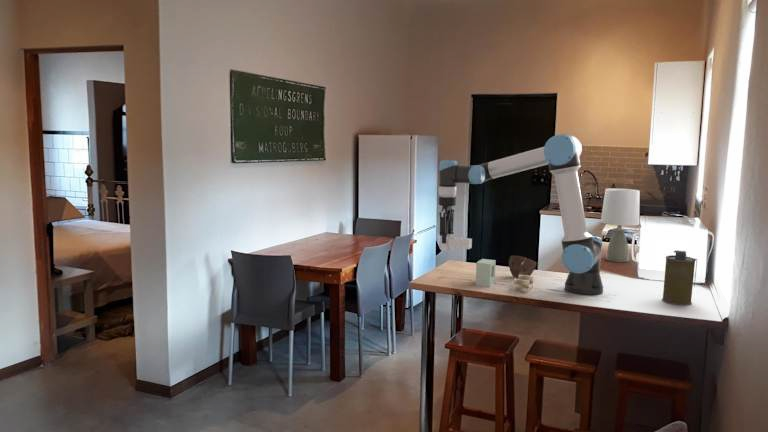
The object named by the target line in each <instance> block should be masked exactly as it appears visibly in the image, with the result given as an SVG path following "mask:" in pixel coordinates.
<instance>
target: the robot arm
mask: <svg viewBox="0 0 768 432" xmlns="http://www.w3.org/2000/svg"><path fill="white" fill-rule="evenodd" d="M582 151H583V147H582V143H581V141H580V140H579V139H578V138H577V137H576V136H574V135H571V134H564V133H559V134H557V135H554V136H551V137H550V138H549V139H548V140H547V141H546V142H545V144H544V146H542V147H538V148H535V149H531V150H527V151H524V152H519V153H516V154H514V155H513V154H512V155H510V156H506V157H503V158H499V159H495V160H491V161H489V162H488V161H487V162H483V163H481V164H478V165H477V164H475V165H459V164H458V161H457V160H441V161H440V162H439V169H438V175H439V176H438V177H439V178H438V188H437V191H438V195H439V197H438V205H439V206H441V207H442V208H441V211H440V212H439V236H440V237H441V241H440V242H441V245H440V246H441V248H440V250H441V251H444V252H447V251H448V250H451V249H452V248H448V237H452V235H453V234H454V217H455V215H454V214H455V209H453V207H454V206H455V207H456V205H457V197H456V196H457V184H471V185H479V184H480V185H481V184H483V183H485V182H488V181H489V180H494V179H497V178H500V177H504V176H509V175H513V174H516V173H517V174H518V173H520V172H523V171H528V170H531V169H535V168H539V167H543V166H547V165H548V170H549V172H550V173H551V174H552V175H554V181H555V185H556V193H557V198H558V205H559V209H560V215H561V222H562V226H563V227H562V228H563V233H564V236H563V237H562V239H561V247H562V253H561V261H562V265H563V267H565V269H566V270H567V271H569V273H568V274H567V277H566V280H565V282H564V290H565V291H567V292H570V293H573V294H578V295H586V296H591V295H592V296H593V295H595V296H597V295H601V294H603V292H604V285H603V281H602V277H601V275H600V274H601V273H600V272H601V260H602V248H603V247H602V246H603V239H602V238H601V237H600V236H593V234H590V233H589V232H588V229H587V221H586V216H585V215H586V214H585V210H584V203H583V198H582V193H581V186H580V180H579V175H578V171H579V169H580V168H581V161H580V156H581V155H582Z"/></svg>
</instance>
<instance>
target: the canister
mask: <svg viewBox="0 0 768 432" xmlns="http://www.w3.org/2000/svg"><path fill="white" fill-rule="evenodd" d="M673 253H675V254H674V255H671V254H670V255H666V256H665V269H664V280H663V289H662V290H663V292H662V298H661V300H662V301H663V302H665V303H667V304H671V305H677V306H690V305H691V304H692V303H693V302H692V295H693V288H695V286H696V281H694V279H696V276H697V271H695V269H697V266H698V259H697V258H694V257H690V256H687V252H686V250H674V251H673ZM694 274H695V275H694Z"/></svg>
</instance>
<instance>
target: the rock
mask: <svg viewBox="0 0 768 432" xmlns="http://www.w3.org/2000/svg"><path fill="white" fill-rule="evenodd" d="M537 264H538V262H536V261H535V260H533V259H531V258H527V257H525V256H520V255H510V256H509V259H508V264H507V265H508V267H509V272H510V273H511V275H512V277H513V278H515V279H518V276H519V274H520V275H529V276H532V274H533V272H534V271H535V269H536V267H537Z"/></svg>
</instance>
